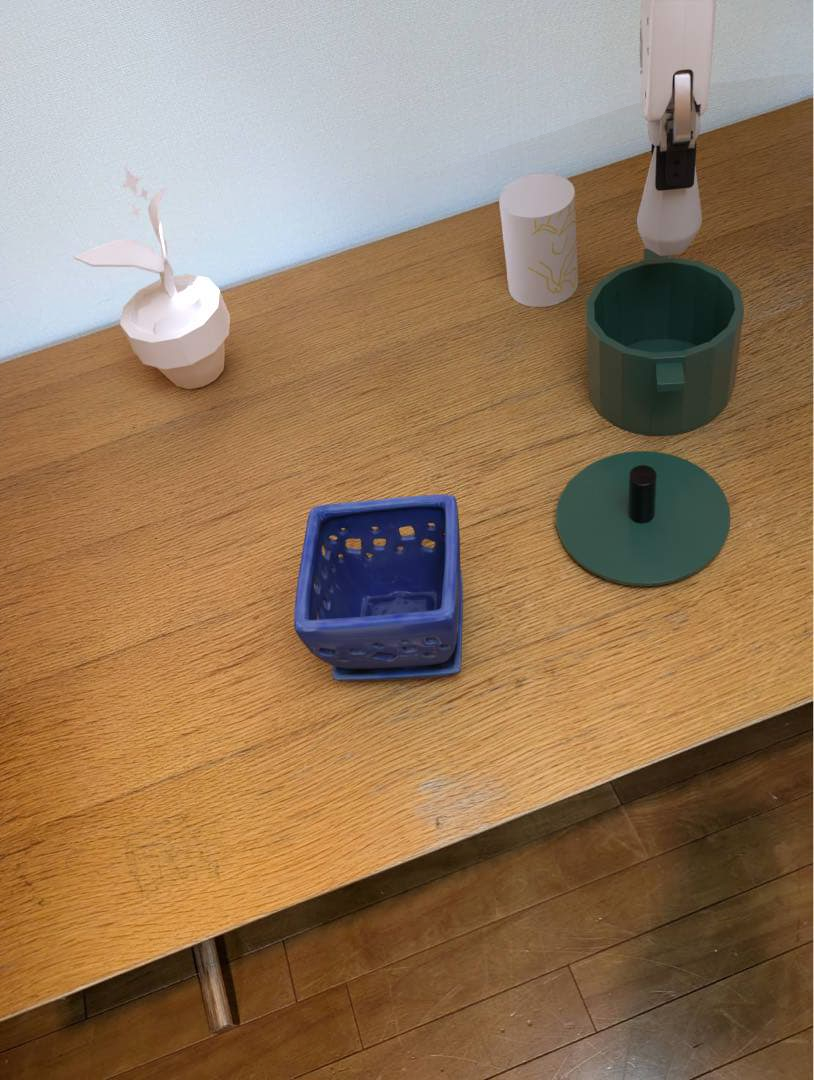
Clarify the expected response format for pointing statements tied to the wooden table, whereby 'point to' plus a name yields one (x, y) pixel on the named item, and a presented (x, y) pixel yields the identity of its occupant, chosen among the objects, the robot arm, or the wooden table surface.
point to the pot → (663, 344)
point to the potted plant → (168, 307)
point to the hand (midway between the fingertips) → (672, 168)
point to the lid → (643, 518)
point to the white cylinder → (540, 239)
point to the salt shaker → (668, 207)
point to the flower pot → (383, 589)
